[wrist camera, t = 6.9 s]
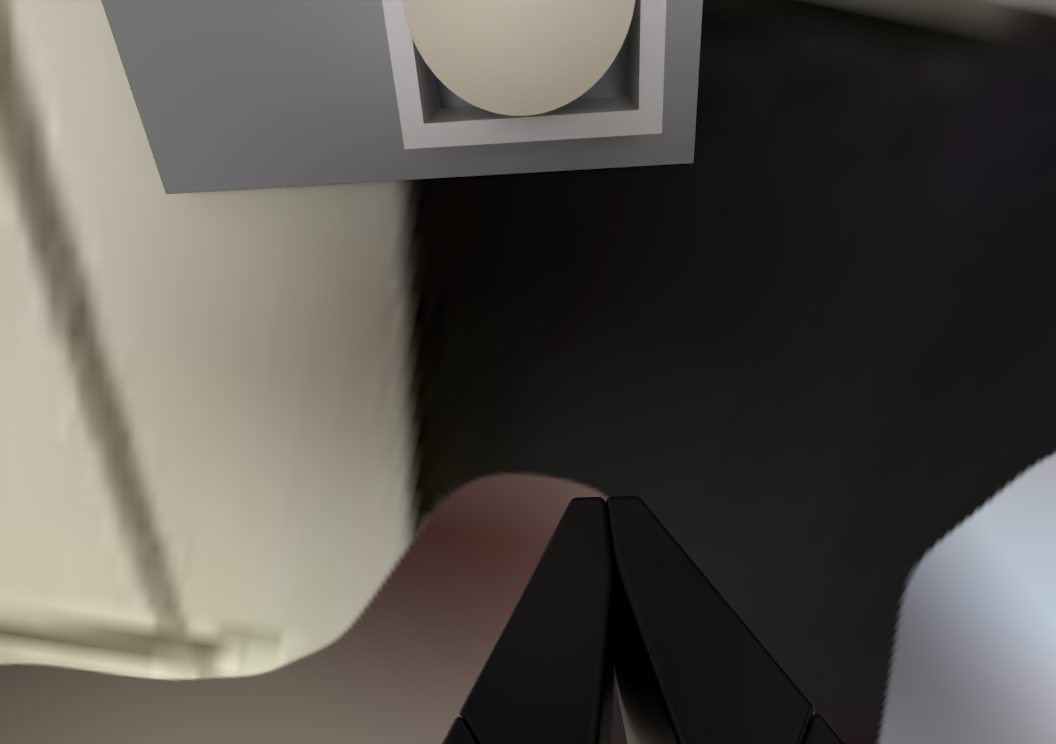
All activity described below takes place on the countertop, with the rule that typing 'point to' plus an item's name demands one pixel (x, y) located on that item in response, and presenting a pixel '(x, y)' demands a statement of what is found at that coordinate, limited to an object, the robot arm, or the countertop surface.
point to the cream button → (518, 48)
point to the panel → (378, 97)
